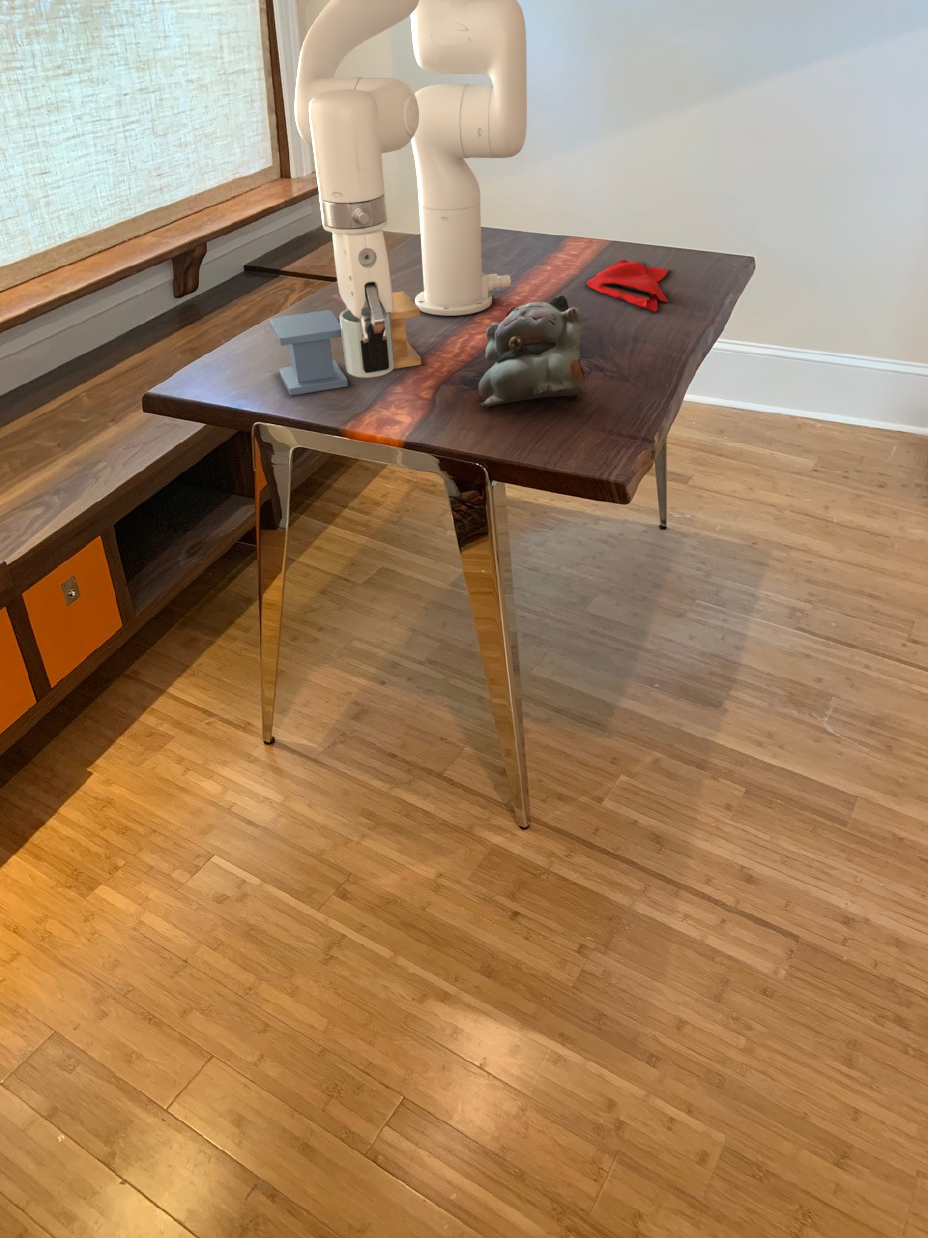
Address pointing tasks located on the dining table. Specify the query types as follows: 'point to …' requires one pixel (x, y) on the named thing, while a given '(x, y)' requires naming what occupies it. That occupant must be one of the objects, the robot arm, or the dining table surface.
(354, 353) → the container
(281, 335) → the blue stand
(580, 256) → the dining table surface
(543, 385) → the lucky cat figurine
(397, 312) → the maple stand
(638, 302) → the cloth
